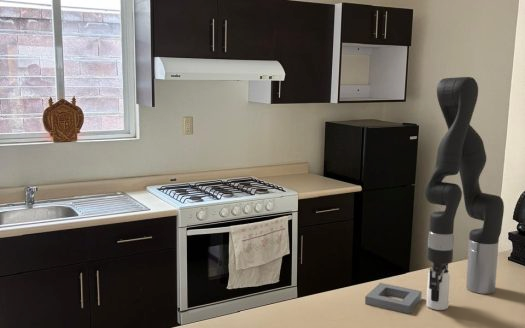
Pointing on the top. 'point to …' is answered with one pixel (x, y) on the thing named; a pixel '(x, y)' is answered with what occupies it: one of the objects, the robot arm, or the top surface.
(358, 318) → the top surface
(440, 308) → the can
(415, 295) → the socket plate
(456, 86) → the robot arm
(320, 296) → the top surface
